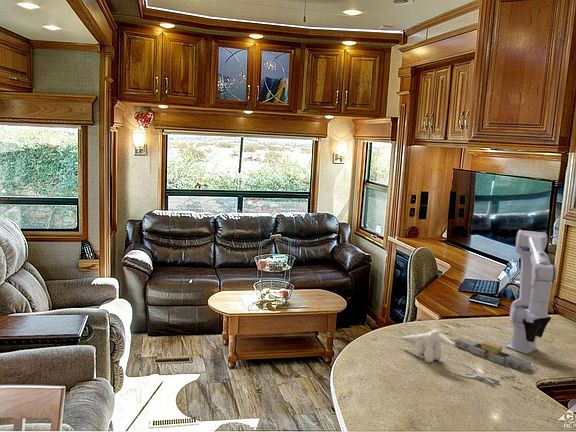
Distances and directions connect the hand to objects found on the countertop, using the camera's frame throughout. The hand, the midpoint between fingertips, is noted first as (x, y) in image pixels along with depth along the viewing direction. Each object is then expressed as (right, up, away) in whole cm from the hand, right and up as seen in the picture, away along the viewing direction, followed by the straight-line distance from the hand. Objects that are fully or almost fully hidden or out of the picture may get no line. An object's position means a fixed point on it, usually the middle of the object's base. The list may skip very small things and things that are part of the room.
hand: (534, 338), depth 175 cm
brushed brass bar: (-12, -8, +8) cm, 16 cm away
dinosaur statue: (-37, -7, +3) cm, 37 cm away
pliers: (-23, -10, -9) cm, 27 cm away
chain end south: (-16, -7, +13) cm, 22 cm away
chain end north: (-7, -9, +2) cm, 12 cm away
